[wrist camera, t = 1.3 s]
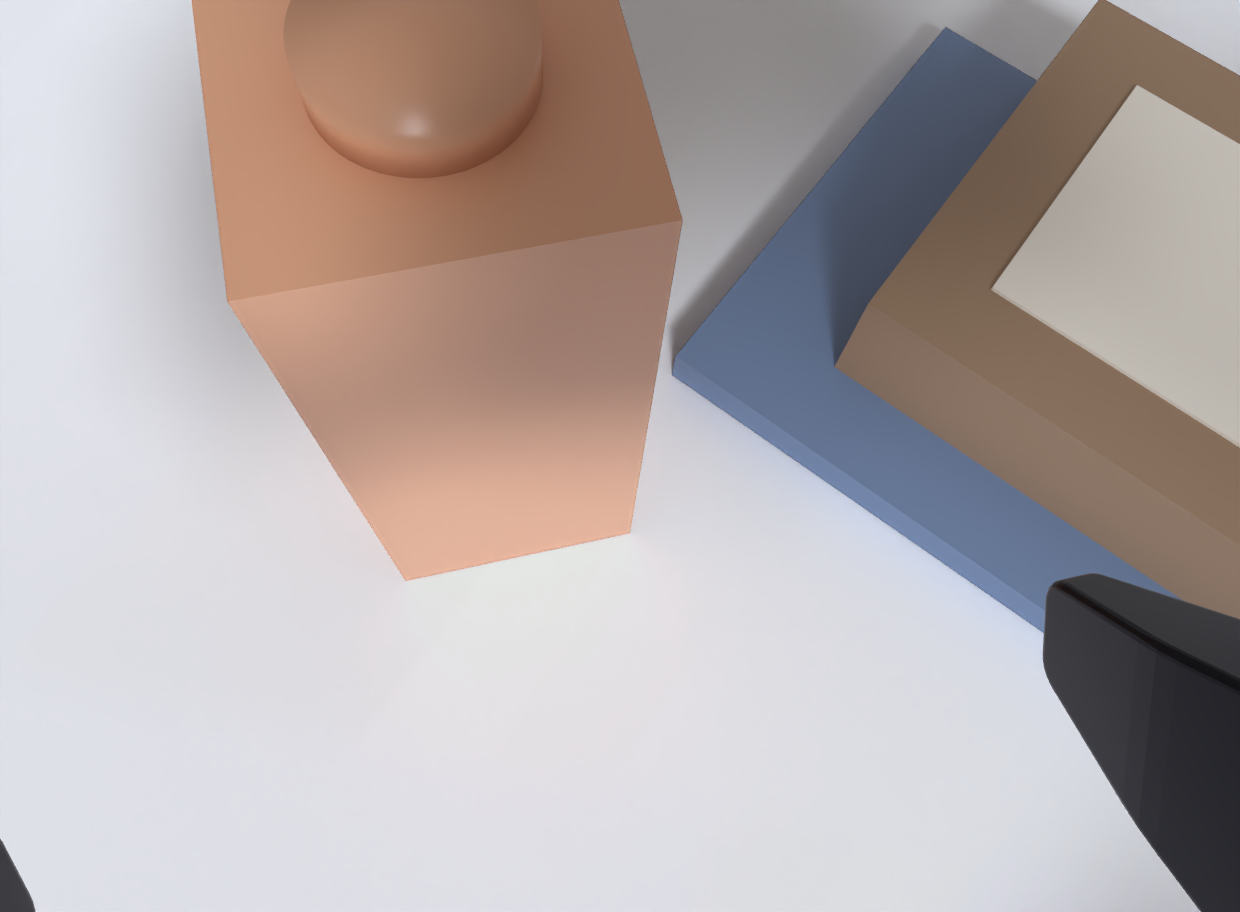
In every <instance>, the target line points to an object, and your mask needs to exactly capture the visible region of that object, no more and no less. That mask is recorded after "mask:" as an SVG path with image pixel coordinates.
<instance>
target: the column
mask: <svg viewBox="0 0 1240 912" xmlns="http://www.w3.org/2000/svg"><path fill="white" fill-rule="evenodd" d="M192 7H193V16H194V24H195V33H196V41H197V50H198V58H199V66H200V75H201V83H202V92H203V100H204V108H205V117H206V125H207V134H208V142H209V150H210V159H211V167H212V176H213V184H214V192H215V201H216V209H217V218H218V226H219V234H220V243H221V251H222V260H223V268H224V277H225V285H226V293H227V302H228V303H229V305H230V306H231V308H232V310H233V311H234V313H235V314H236V316H237V317H238V319H239V321H240V322H241V324H242V325H243V327H244V328H245V330H246V332H247V333H248V335H249V336H250V338H251V339H252V341H253V343H254V344H255V346H256V347H257V349H258V350H259V352H260V354H261V355H262V357H263V358H264V360H265V361H266V363H267V364H268V366H269V368H270V369H271V371H272V372H273V374H274V375H275V377H276V379H277V380H278V382H279V383H280V385H281V386H282V388H283V390H284V391H285V393H286V394H287V396H288V397H289V399H290V401H291V402H292V404H293V405H294V407H295V408H296V410H297V412H298V413H299V415H300V416H301V418H302V419H303V421H304V422H305V424H306V426H307V427H308V429H309V430H310V432H311V433H312V435H313V437H314V438H315V440H316V441H317V443H318V444H319V446H320V448H321V449H322V451H323V452H324V454H325V455H326V457H327V459H328V460H329V462H330V463H331V465H332V466H333V468H334V470H335V471H336V473H337V474H338V476H339V477H340V479H341V480H342V482H343V484H344V485H345V487H346V488H347V490H348V491H349V493H350V495H351V496H352V498H353V499H354V501H355V502H356V504H357V506H358V507H359V509H360V510H361V512H362V513H363V515H364V517H365V518H366V520H367V521H368V523H369V524H370V526H371V528H372V529H373V531H374V532H375V534H376V535H377V537H378V538H379V540H380V542H381V543H382V545H383V546H384V548H385V549H386V551H387V553H388V554H389V556H390V557H391V559H392V560H393V562H394V564H395V565H396V567H397V568H398V570H399V571H400V573H401V575H402V576H403V578H404V579H405V581H407V580H412V579H417V578H421V577H426V576H431V575H436V574H440V573H445V572H450V571H454V570H459V569H464V568H468V567H473V566H478V565H482V564H487V563H492V562H497V561H501V560H506V559H511V558H515V557H520V556H525V555H529V554H534V553H539V552H543V551H548V550H553V549H558V548H562V547H567V546H572V545H576V544H581V543H586V542H590V541H595V540H600V539H605V538H609V537H614V536H619V535H623V534H628V533H630V529H631V523H632V517H633V511H634V505H635V499H636V493H637V488H638V482H639V476H640V470H641V464H642V458H643V452H644V446H645V440H646V434H647V428H648V422H649V416H650V410H651V404H652V399H653V393H654V387H655V381H656V375H657V369H658V363H659V357H660V351H661V345H662V339H663V333H664V327H665V321H666V315H667V309H668V304H669V298H670V292H671V286H672V280H673V274H674V268H675V262H676V256H677V250H678V244H679V238H680V232H681V226H682V216H681V213H680V210H679V206H678V203H677V199H676V196H675V192H674V189H673V186H672V182H671V179H670V175H669V172H668V168H667V165H666V162H665V158H664V155H663V151H662V148H661V144H660V141H659V137H658V134H657V131H656V127H655V124H654V120H653V117H652V113H651V110H650V107H649V103H648V100H647V96H646V93H645V89H644V86H643V83H642V79H641V76H640V72H639V69H638V65H637V62H636V58H635V55H634V52H633V48H632V45H631V41H630V38H629V34H628V31H627V28H626V24H625V21H624V17H623V14H622V10H621V7H620V4H619V0H192Z"/></svg>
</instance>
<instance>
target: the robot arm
mask: <svg viewBox="0 0 1240 912" xmlns="http://www.w3.org/2000/svg"><path fill="white" fill-rule="evenodd" d="M1043 663H1044V669H1045V672H1046V675H1047V678H1048V680H1049V683H1050V684H1051V686H1052V688H1053V690H1054V691H1055V693H1056V695H1057V696H1058V698H1059V700H1060V701H1061V703H1062V705H1063V706H1064V708H1065V710H1066V711H1067V713H1068V715H1069V716H1070V718H1071V720H1072V721H1073V723H1074V724H1075V726H1076V728H1077V729H1078V731H1079V733H1080V734H1081V736H1082V738H1083V739H1084V741H1085V743H1086V744H1087V746H1088V748H1089V749H1090V751H1091V753H1092V754H1093V756H1094V758H1095V759H1096V761H1097V762H1098V764H1099V766H1100V767H1101V769H1102V771H1103V772H1104V774H1105V776H1106V777H1107V779H1108V781H1109V782H1110V784H1111V786H1112V787H1113V789H1114V791H1115V792H1116V794H1117V796H1118V797H1119V799H1120V800H1121V802H1122V804H1123V805H1124V807H1125V808H1126V810H1127V811H1128V813H1129V815H1130V816H1131V818H1132V819H1133V821H1134V822H1135V824H1136V825H1137V827H1138V828H1139V830H1140V831H1141V832H1142V834H1143V835H1144V837H1145V838H1146V839H1147V841H1148V842H1149V844H1150V845H1151V846H1152V848H1153V849H1154V850H1155V852H1156V853H1157V854H1158V856H1159V857H1160V858H1161V860H1162V861H1163V862H1164V864H1165V865H1166V866H1167V868H1168V869H1169V870H1170V872H1171V873H1172V874H1173V876H1174V877H1175V878H1176V880H1177V881H1178V882H1179V884H1180V885H1181V886H1182V887H1183V889H1184V890H1185V891H1186V893H1187V894H1188V895H1189V897H1190V898H1191V899H1192V901H1193V902H1194V903H1195V905H1196V906H1197V907H1198V909H1199V910H1200V911H1201V912H1240V619H1238V618H1235V617H1232V616H1229V615H1226V614H1223V613H1220V612H1217V611H1214V610H1210V609H1207V608H1204V607H1201V606H1198V605H1195V604H1192V603H1189V602H1186V601H1183V600H1179V599H1176V598H1173V597H1170V596H1167V595H1164V594H1161V593H1158V592H1155V591H1152V590H1149V589H1145V588H1142V587H1139V586H1136V585H1133V584H1130V583H1127V582H1124V581H1121V580H1118V579H1114V578H1111V577H1108V576H1105V575H1102V574H1098V573H1089V574H1084V575H1080V576H1075V577H1071V578H1067V579H1062V580H1058V581H1056V582H1054V583H1053V584H1052V585H1051V586H1050V587H1049V589H1048V591H1047V594H1046V600H1045V621H1044V641H1043ZM0 912H35V908H34V904H33V901H32V898H31V896H30V894H29V892H28V890H27V888H26V886H25V884H24V882H23V880H22V878H21V877H20V875H19V873H18V871H17V869H16V867H15V865H14V863H13V861H12V859H11V857H10V855H9V854H8V852H7V850H6V848H5V846H4V844H3V842H2V841H1V839H0Z"/></svg>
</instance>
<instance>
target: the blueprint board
mask: <svg viewBox="0 0 1240 912" xmlns="http://www.w3.org/2000/svg"><path fill="white" fill-rule="evenodd" d="M672 375H673V376H675V377H676V378H677V379H679V380H680V381H682V382H683V383H685V384H686V385H688V386H689V387H690V388H692V389H693V390H695V391H696V392H698V393H699V394H700V395H702V396H703V397H705V398H706V399H708V400H709V401H711V402H712V403H713V404H715V405H716V406H718V407H719V408H721V409H722V410H724V411H725V412H726V413H728V414H729V415H731V416H732V417H734V418H735V419H736V420H738V421H739V422H741V423H742V424H744V425H745V426H747V427H748V428H749V429H751V430H752V431H754V432H755V433H757V434H758V435H760V436H761V437H762V438H764V439H765V440H767V441H768V442H770V443H771V444H773V445H774V446H775V447H777V448H778V449H780V450H781V451H783V452H784V453H785V454H787V455H788V456H790V457H791V458H793V459H794V460H796V461H797V462H798V463H800V464H801V465H803V466H804V467H806V468H807V469H809V470H810V471H811V472H813V473H814V474H816V475H817V476H819V477H820V478H821V479H823V480H824V481H826V482H827V483H829V484H830V485H832V486H833V487H834V488H836V489H837V490H839V491H840V492H842V493H843V494H845V495H846V496H847V497H849V498H850V499H852V500H853V501H855V502H856V503H858V504H859V505H860V506H862V507H863V508H865V509H866V510H868V511H869V512H870V513H872V514H873V515H875V516H876V517H878V518H879V519H881V520H882V521H883V522H885V523H886V524H888V525H889V526H891V527H892V528H894V529H895V530H896V531H898V532H899V533H901V534H902V535H904V536H905V537H906V538H908V539H909V540H911V541H912V542H914V543H915V544H917V545H918V546H919V547H921V548H922V549H924V550H925V551H927V552H928V553H930V554H931V555H932V556H934V557H935V558H937V559H938V560H940V561H941V562H943V563H944V564H945V565H947V566H948V567H950V568H951V569H953V570H954V571H955V572H957V573H958V574H960V575H961V576H963V577H964V578H966V579H967V580H968V581H970V582H971V583H973V584H974V585H976V586H977V587H979V588H980V589H981V590H983V591H984V592H986V593H987V594H989V595H990V596H991V597H993V598H994V599H996V600H997V601H999V602H1000V603H1002V604H1003V605H1004V606H1006V607H1007V608H1009V609H1010V610H1012V611H1013V612H1015V613H1016V614H1017V615H1019V616H1020V617H1022V618H1023V619H1025V620H1026V621H1028V622H1029V623H1030V624H1032V625H1033V626H1035V627H1036V628H1038V629H1039V630H1040V631H1042V632H1043V633H1044V621H1045V600H1046V594H1047V591H1048V589H1049V587H1050V586H1051V585H1052V584H1053V583H1054V582H1056V581H1058V580H1062V579H1067V578H1071V577H1075V576H1080V575H1084V574H1089V573H1098V574H1102V575H1105V576H1108V577H1111V578H1114V579H1118V580H1121V581H1124V582H1127V583H1130V584H1133V585H1136V586H1139V587H1142V588H1145V589H1149V590H1152V591H1155V592H1158V593H1161V594H1164V595H1167V596H1170V597H1173V598H1176V599H1179V600H1183V601H1186V602H1189V603H1192V604H1195V605H1198V606H1201V607H1204V608H1207V609H1210V610H1214V611H1217V612H1220V613H1223V614H1226V615H1229V616H1232V617H1235V618H1238V619H1240V76H1239V75H1237V74H1236V73H1234V72H1232V71H1230V70H1229V69H1227V68H1225V67H1223V66H1222V65H1220V64H1218V63H1216V62H1214V61H1213V60H1211V59H1209V58H1207V57H1206V56H1204V55H1202V54H1200V53H1198V52H1197V51H1195V50H1193V49H1191V48H1190V47H1188V46H1186V45H1184V44H1182V43H1181V42H1179V41H1177V40H1175V39H1174V38H1172V37H1170V36H1168V35H1167V34H1165V33H1163V32H1161V31H1159V30H1158V29H1156V28H1154V27H1152V26H1151V25H1149V24H1147V23H1145V22H1143V21H1142V20H1140V19H1138V18H1136V17H1135V16H1133V15H1131V14H1129V13H1128V12H1126V11H1124V10H1122V9H1120V8H1119V7H1117V6H1115V5H1113V4H1112V3H1110V2H1108V1H1106V0H1098V2H1097V3H1096V4H1095V6H1094V7H1093V8H1092V10H1091V11H1090V12H1089V14H1088V15H1087V16H1086V18H1085V19H1084V20H1083V21H1082V23H1081V24H1080V25H1079V27H1078V28H1077V29H1076V31H1075V32H1074V33H1073V35H1072V36H1071V37H1070V39H1069V40H1068V41H1067V43H1066V44H1065V45H1064V46H1063V48H1062V49H1061V50H1060V52H1059V53H1058V54H1057V56H1056V57H1055V58H1054V60H1053V61H1052V62H1051V64H1050V65H1049V66H1048V68H1047V69H1046V70H1045V71H1044V73H1043V74H1042V75H1041V77H1040V78H1039V79H1038V81H1037V80H1035V79H1033V78H1032V77H1030V76H1028V75H1027V74H1025V73H1023V72H1021V71H1020V70H1018V69H1016V68H1015V67H1013V66H1011V65H1009V64H1008V63H1006V62H1004V61H1003V60H1001V59H999V58H998V57H996V56H994V55H992V54H991V53H989V52H987V51H986V50H984V49H982V48H981V47H979V46H977V45H975V44H974V43H972V42H970V41H969V40H967V39H965V38H964V37H962V36H960V35H958V34H957V33H955V32H953V31H952V30H950V29H948V28H946V27H945V28H944V30H943V31H942V32H941V33H940V35H939V36H938V37H937V38H936V39H935V41H934V42H933V43H932V44H931V45H930V47H929V48H928V49H927V50H926V52H925V53H924V54H923V55H922V56H921V58H920V59H919V60H918V61H917V63H916V64H915V65H914V66H913V67H912V69H911V70H910V71H909V72H908V74H907V75H906V76H905V77H904V78H903V80H902V81H901V82H900V83H899V85H898V86H897V87H896V88H895V89H894V91H893V92H892V93H891V94H890V95H889V97H888V98H887V99H886V100H885V102H884V103H883V104H882V105H881V106H880V108H879V109H878V110H877V111H876V113H875V114H874V115H873V116H872V117H871V119H870V120H869V121H868V122H867V124H866V125H865V126H864V127H863V128H862V130H861V131H860V132H859V133H858V135H857V136H856V137H855V138H854V139H853V141H852V142H851V143H850V144H849V145H848V147H847V148H846V149H845V150H844V152H843V153H842V154H841V155H840V156H839V158H838V159H837V160H836V161H835V163H834V164H833V165H832V166H831V167H830V169H829V170H828V171H827V172H826V174H825V175H824V176H823V177H822V178H821V180H820V181H819V182H818V183H817V185H816V186H815V187H814V188H813V189H812V191H811V192H810V193H809V194H808V195H807V197H806V198H805V199H804V200H803V202H802V203H801V204H800V205H799V206H798V208H797V209H796V210H795V211H794V213H793V214H792V215H791V216H790V217H789V219H788V220H787V221H786V222H785V224H784V225H783V226H782V227H781V228H780V230H779V231H778V232H777V233H776V235H775V236H774V237H773V238H772V239H771V241H770V242H769V243H768V244H767V245H766V247H765V248H764V249H763V250H762V252H761V253H760V254H759V255H758V256H757V258H756V259H755V260H754V261H753V263H752V264H751V265H750V266H749V267H748V269H747V270H746V271H745V272H744V274H743V275H742V276H741V277H740V278H739V280H738V281H737V282H736V283H735V285H734V286H733V287H732V288H731V289H730V291H729V292H728V293H727V294H726V295H725V297H724V298H723V299H722V300H721V302H720V303H719V304H718V305H717V306H716V308H715V309H714V310H713V311H712V313H711V314H710V315H709V316H708V317H707V319H706V320H705V321H704V322H703V324H702V325H701V326H700V327H699V328H698V330H697V331H696V332H695V333H694V335H693V336H692V337H691V338H690V339H689V341H688V342H687V343H686V344H685V345H684V347H683V348H682V349H681V350H680V352H679V353H678V354H677V355H676V357H675V362H674V367H673V372H672Z"/></svg>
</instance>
